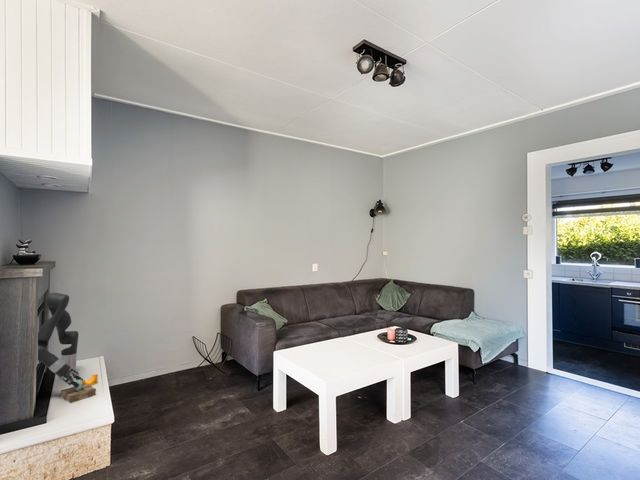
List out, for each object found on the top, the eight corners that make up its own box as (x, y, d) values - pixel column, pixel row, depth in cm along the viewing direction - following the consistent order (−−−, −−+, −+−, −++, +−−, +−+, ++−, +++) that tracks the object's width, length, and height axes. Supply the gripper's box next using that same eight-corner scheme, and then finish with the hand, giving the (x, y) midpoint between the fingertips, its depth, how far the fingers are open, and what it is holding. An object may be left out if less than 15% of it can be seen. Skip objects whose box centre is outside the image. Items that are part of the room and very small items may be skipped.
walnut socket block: (60, 396, 215) (61, 390, 215) (85, 389, 227) (85, 383, 227) (70, 403, 208) (71, 396, 208) (95, 395, 220) (95, 389, 220)
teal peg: (74, 396, 217) (75, 380, 217) (79, 394, 220) (80, 379, 220) (76, 397, 216) (77, 381, 216) (81, 395, 218) (82, 380, 218)
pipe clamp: (92, 382, 238) (92, 373, 238) (97, 383, 237) (97, 374, 237) (76, 389, 226) (77, 379, 227) (81, 390, 226) (82, 380, 226)
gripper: (61, 367, 208) (82, 383, 212) (68, 359, 221) (88, 375, 226) (50, 376, 206) (71, 393, 210) (58, 368, 219) (78, 383, 224)
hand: (80, 383), depth 218 cm, fingers open, 8 cm apart
